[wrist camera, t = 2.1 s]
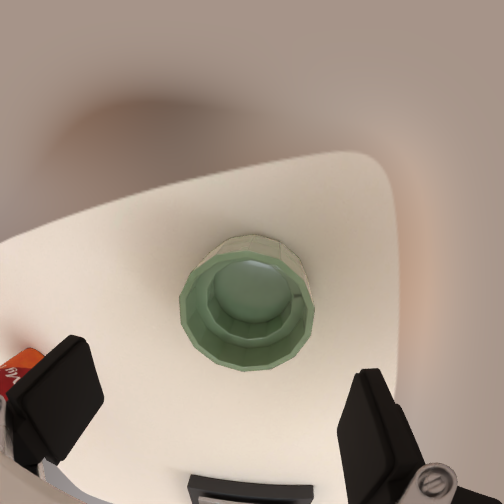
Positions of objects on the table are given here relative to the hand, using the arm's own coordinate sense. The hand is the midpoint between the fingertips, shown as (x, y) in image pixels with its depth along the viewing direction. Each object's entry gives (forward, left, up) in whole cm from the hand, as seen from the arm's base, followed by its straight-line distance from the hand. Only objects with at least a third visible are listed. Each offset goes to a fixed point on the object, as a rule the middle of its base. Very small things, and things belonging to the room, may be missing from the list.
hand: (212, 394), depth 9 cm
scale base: (-1, +30, -10) cm, 32 cm away
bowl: (0, 0, -10) cm, 10 cm away
